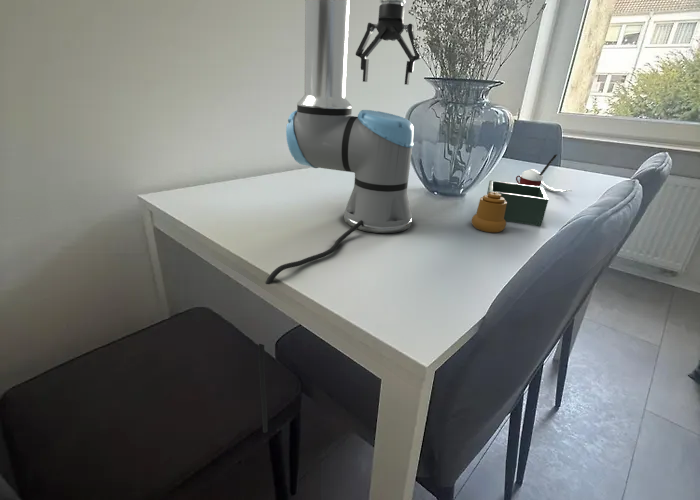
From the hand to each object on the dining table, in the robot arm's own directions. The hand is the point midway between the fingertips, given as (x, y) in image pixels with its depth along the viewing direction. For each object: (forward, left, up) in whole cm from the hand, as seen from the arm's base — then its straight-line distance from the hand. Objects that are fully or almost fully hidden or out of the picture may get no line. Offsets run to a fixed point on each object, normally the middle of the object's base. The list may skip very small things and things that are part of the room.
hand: (385, 83), depth 123 cm
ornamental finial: (-41, -37, -28) cm, 62 cm away
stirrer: (+7, -54, -28) cm, 62 cm away
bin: (-28, -43, -28) cm, 58 cm away
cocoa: (+1, -49, -28) cm, 57 cm away
